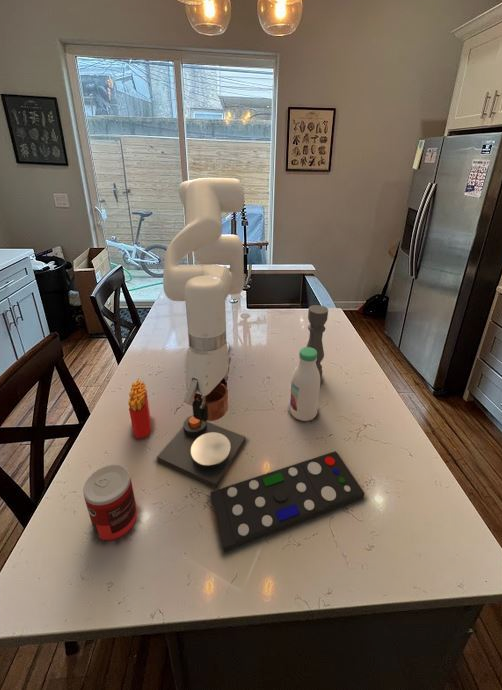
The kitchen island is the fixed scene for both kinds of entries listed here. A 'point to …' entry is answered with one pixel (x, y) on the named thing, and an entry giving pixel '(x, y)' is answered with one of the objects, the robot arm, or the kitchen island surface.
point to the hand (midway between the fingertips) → (211, 405)
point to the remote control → (282, 499)
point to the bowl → (216, 402)
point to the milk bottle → (305, 386)
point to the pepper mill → (317, 332)
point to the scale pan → (210, 449)
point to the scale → (180, 452)
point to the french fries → (139, 410)
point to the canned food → (110, 502)
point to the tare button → (194, 422)
